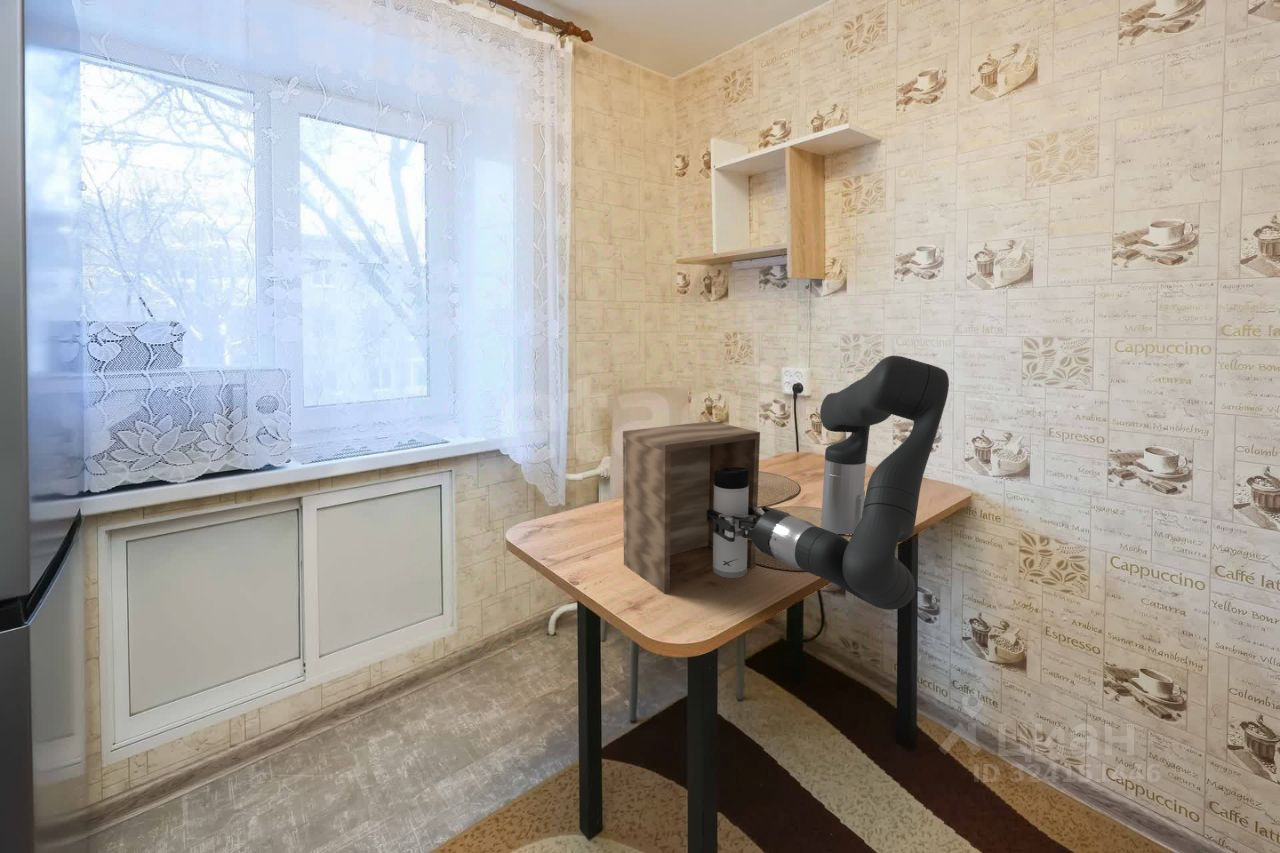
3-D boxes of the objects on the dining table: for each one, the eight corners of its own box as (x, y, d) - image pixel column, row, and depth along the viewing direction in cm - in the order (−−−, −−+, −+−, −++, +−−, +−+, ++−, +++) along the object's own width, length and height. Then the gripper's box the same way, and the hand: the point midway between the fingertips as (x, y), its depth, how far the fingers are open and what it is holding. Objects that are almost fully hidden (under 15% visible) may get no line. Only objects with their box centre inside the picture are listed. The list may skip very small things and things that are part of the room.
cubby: (755, 566, 116) (760, 432, 111) (664, 593, 104) (665, 444, 99) (709, 542, 128) (711, 421, 123) (623, 564, 117) (622, 431, 112)
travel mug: (731, 582, 100) (733, 473, 97) (705, 570, 106) (706, 466, 102) (755, 573, 104) (757, 467, 101) (729, 561, 109) (731, 461, 106)
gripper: (821, 509, 94) (752, 486, 108) (756, 525, 86) (691, 498, 101) (819, 552, 95) (751, 523, 109) (755, 571, 88) (691, 538, 102)
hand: (723, 511), depth 105 cm, fingers closed on travel mug, 6 cm apart
